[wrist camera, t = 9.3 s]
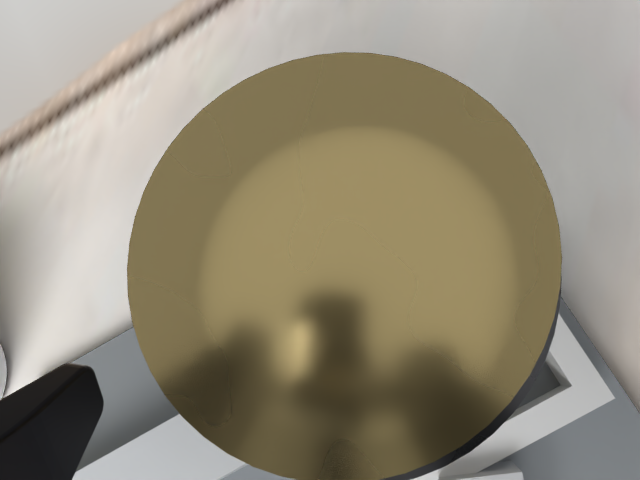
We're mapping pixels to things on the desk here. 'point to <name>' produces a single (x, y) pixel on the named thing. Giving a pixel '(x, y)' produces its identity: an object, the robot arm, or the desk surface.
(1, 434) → the robot arm
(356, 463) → the disc
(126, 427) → the coupling station
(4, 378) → the supplement bottle
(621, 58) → the desk surface
